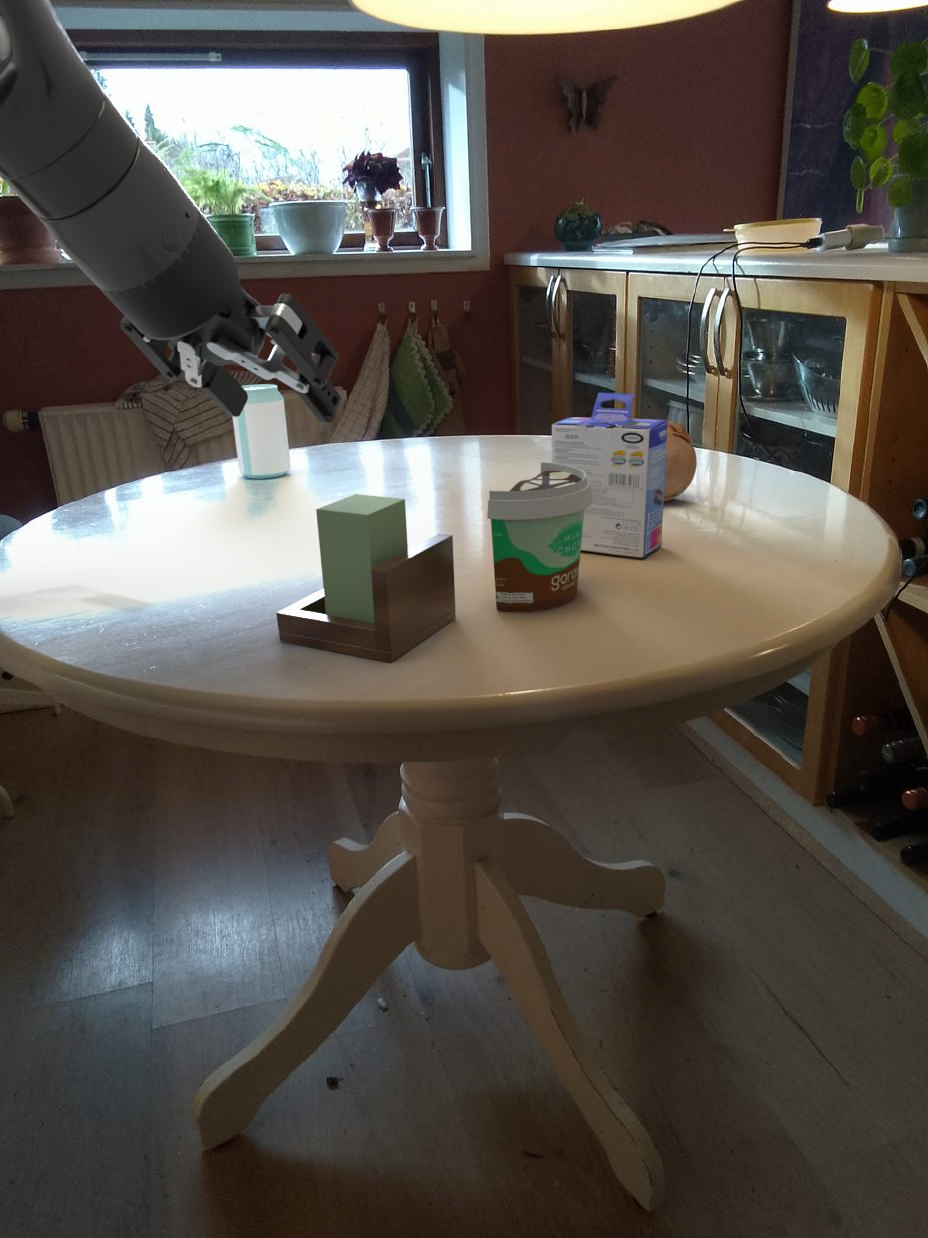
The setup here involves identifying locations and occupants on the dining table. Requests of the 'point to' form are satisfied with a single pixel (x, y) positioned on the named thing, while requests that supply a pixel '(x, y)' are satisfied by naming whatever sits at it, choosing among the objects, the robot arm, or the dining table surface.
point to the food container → (539, 538)
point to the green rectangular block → (357, 550)
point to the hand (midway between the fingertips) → (284, 409)
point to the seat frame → (383, 607)
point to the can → (262, 434)
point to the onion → (678, 461)
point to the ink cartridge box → (617, 475)
